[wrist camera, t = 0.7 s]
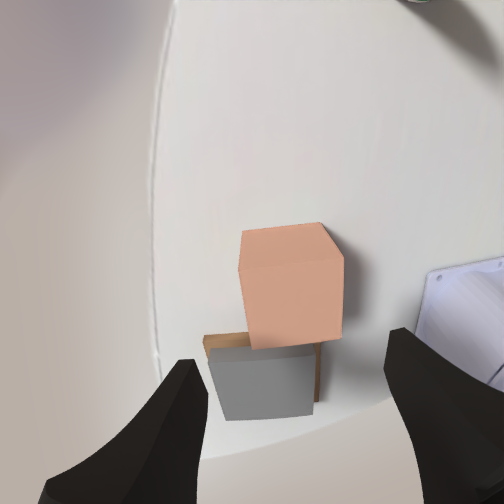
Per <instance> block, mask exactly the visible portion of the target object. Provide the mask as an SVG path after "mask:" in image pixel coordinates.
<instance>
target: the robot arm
mask: <svg viewBox="0 0 504 504" xmlns="http://www.w3.org/2000/svg"><path fill="white" fill-rule="evenodd" d="M438 276H439V277H438ZM437 277H438V278H437ZM384 372H385V375H386V379H387V382H388V385H389V388H390V391H391V394H392V396H393V398H394V401H395V403H396V405H397V407H398V410H399V412H400V414H401V416H402V419H403V421H404V423H405V426H406V428H407V430H408V433H409V435H410V438H411V441H412V444H413V448H414V451H415V455H416V459H417V464H418V468H419V473H420V478H421V483H422V491H423V498H424V504H504V256H503V257H499V258H494V259H490V260H485V261H480V262H475V263H470V264H466V265H461V266H455V267H450V268H445V269H440V270H434V271H431V272H430V273H429V274H428V275H427V278H426V283H425V289H424V295H423V300H422V305H421V310H420V315H419V319H418V324H417V328H416V332H415V335H414V334H413V333H411V332H410V331H409V330H407V329H406V328H405V327H404V328H400V329H396V330H391V331H390V334H389V340H388V347H387V352H386V358H385V363H384ZM207 413H208V392H207V389H206V387H205V385H204V382H203V380H202V377H201V375H200V372H199V370H198V367H197V365H196V362H195V360H194V359H184V360H178V361H177V363H176V364H175V365H174V367H173V368H172V369H171V371H170V372H169V373H168V375H167V376H166V378H165V379H164V380H163V382H162V383H161V384H160V386H159V387H158V388H157V390H156V391H155V393H154V394H153V395H152V396H151V398H150V399H149V400H148V401H147V403H146V404H145V405H144V406H143V407H142V409H141V410H140V411H139V412H138V413H137V415H136V416H135V417H134V418H133V419H132V420H131V421H130V423H128V425H127V426H125V427H124V428H123V429H122V431H121V432H119V433H118V434H117V435H116V436H115V437H114V438H113V439H112V440H111V441H109V442H108V443H107V444H106V445H104V446H103V447H102V448H101V449H99V450H98V451H97V452H95V453H94V454H93V455H91V456H90V457H88V458H87V459H85V460H84V461H83V462H81V463H79V464H78V465H76V466H74V467H72V468H71V469H69V470H67V471H65V472H63V473H61V474H59V475H57V476H55V477H53V478H50V479H48V480H47V481H46V483H45V486H44V488H43V491H42V494H41V496H40V499H39V502H38V504H197V476H198V466H199V460H200V455H201V449H202V444H203V438H204V433H205V427H206V421H207Z"/></svg>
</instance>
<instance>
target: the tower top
mask: <svg viewBox="0 0 504 504" xmlns="http://www.w3.org/2000/svg"><path fill="white" fill-rule="evenodd" d="M208 365H209V369H210V372H211V376H212V379H213V382H214V385H215V389H216V392H217V395H218V398H219V401H220V404H221V407H222V410H223V414H224V417H225V420H226V421H233V420H261V419H276V418H288V417H298V416H307V415H313V404H314V387H315V365H316V353H315V349H314V344H313V343H308V344H301V345H293V346H284V347H276V348H266V349H256V350H252V347H251V346H245V347H228V348H211V349H210V354H209V359H208Z"/></svg>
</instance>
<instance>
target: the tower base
mask: <svg viewBox="0 0 504 504" xmlns="http://www.w3.org/2000/svg"><path fill="white" fill-rule="evenodd" d="M313 344H314V349H315V353H316V365H315V387H314V402H318V401H319V381H320V348H321V342H315V343H313ZM203 345H204V349H205V352H206V355H207V358H208V359H209V354H210V349H211V348H228V347H245V346H251V342H250V336H249V332H241V333H229V334H215V335H204V338H203Z"/></svg>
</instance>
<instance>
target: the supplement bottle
mask: <svg viewBox="0 0 504 504" xmlns="http://www.w3.org/2000/svg"><path fill="white" fill-rule="evenodd" d="M407 1H411V2H416V3H422V2H427V1H429V0H407Z"/></svg>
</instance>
